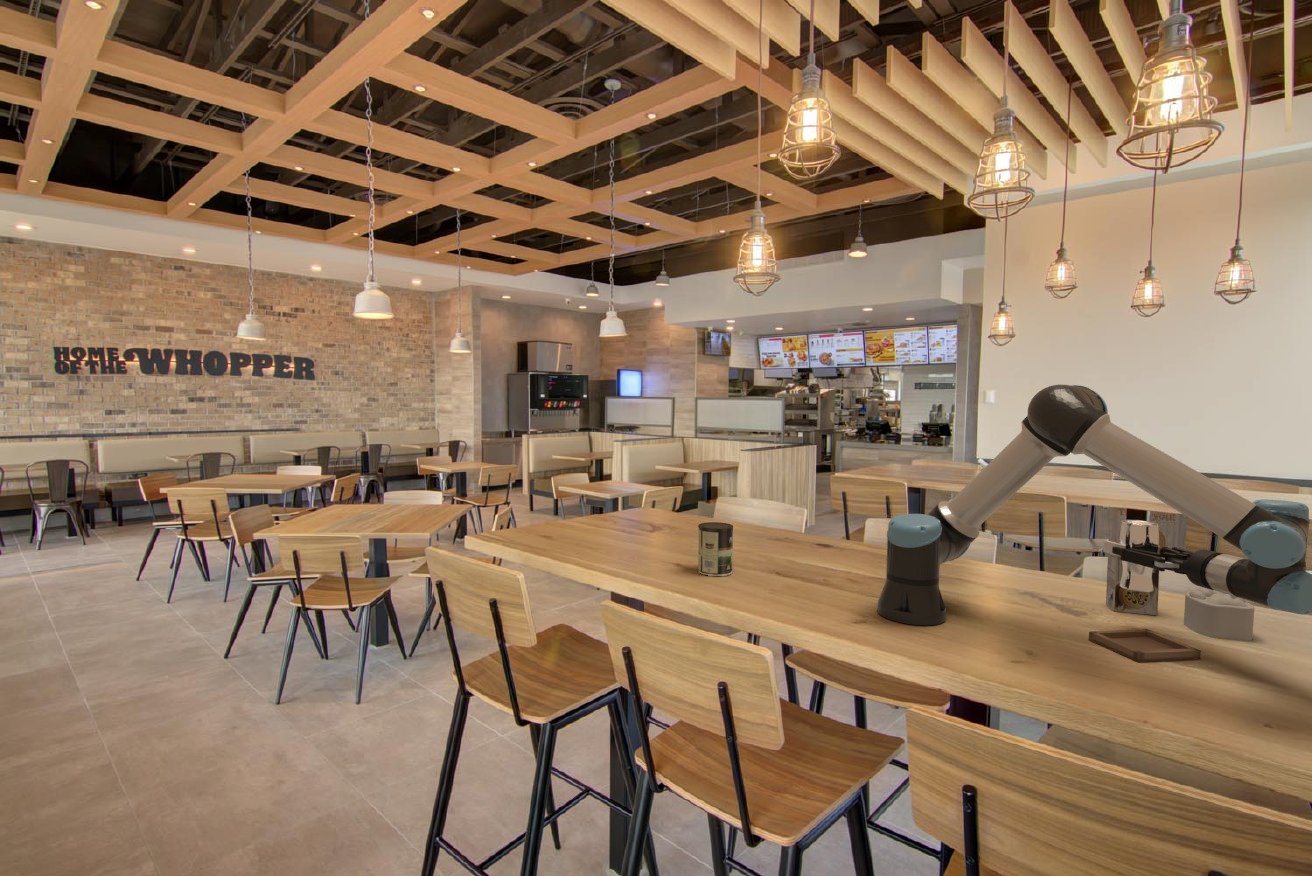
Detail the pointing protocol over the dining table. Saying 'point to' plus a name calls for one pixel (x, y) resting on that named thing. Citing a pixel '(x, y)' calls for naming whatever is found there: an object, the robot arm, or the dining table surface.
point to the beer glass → (1139, 538)
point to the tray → (1144, 645)
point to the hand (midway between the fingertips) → (1119, 545)
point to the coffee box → (1129, 591)
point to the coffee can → (715, 548)
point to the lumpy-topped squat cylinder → (1218, 615)
